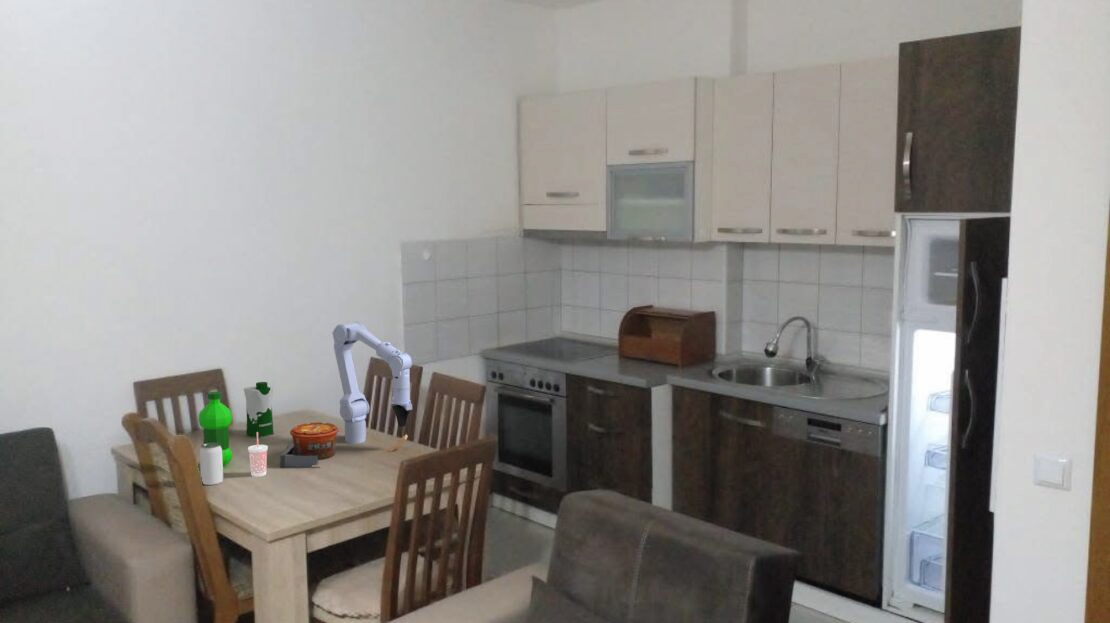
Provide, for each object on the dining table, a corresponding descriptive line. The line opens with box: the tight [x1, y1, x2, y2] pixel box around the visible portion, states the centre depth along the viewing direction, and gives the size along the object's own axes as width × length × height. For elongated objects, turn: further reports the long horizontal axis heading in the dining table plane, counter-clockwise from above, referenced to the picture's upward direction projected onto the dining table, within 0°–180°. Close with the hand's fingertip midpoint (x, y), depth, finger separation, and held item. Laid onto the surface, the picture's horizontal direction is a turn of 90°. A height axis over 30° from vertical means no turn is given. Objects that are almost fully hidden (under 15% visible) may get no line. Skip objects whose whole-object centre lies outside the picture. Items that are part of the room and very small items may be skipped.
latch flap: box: [387, 434, 409, 452], centre depth 307 cm, size 5×8×1 cm
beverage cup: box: [247, 432, 269, 478], centre depth 281 cm, size 6×6×14 cm
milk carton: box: [243, 381, 274, 438], centre depth 327 cm, size 9×9×20 cm
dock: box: [279, 442, 319, 469], centre depth 299 cm, size 22×12×4 cm, turn 2°
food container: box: [289, 422, 339, 461], centre depth 299 cm, size 16×16×11 cm
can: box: [199, 443, 224, 486], centre depth 272 cm, size 6×6×12 cm
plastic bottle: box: [198, 390, 233, 469], centre depth 287 cm, size 10×10×25 cm
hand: (402, 426), depth 306 cm, fingers closed
